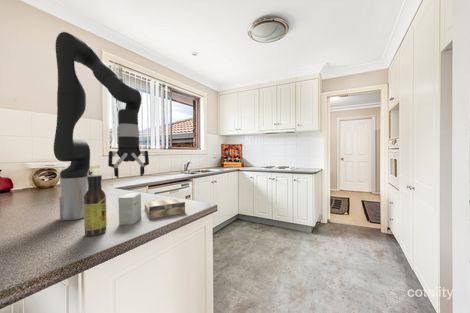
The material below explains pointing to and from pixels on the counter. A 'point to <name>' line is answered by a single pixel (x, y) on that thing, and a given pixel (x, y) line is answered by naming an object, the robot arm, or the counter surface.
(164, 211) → the brown patterned flat box
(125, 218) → the small box
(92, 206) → the sauce bottle
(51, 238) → the counter surface
